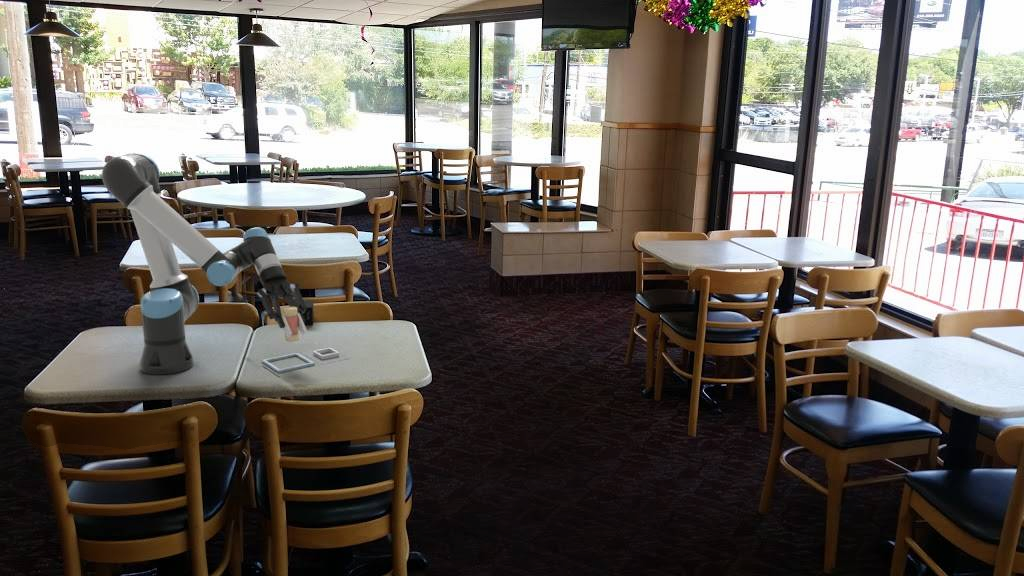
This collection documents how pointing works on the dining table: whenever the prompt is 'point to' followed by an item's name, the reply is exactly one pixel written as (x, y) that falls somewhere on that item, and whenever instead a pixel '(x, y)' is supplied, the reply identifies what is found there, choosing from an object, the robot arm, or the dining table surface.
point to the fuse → (292, 323)
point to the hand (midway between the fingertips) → (297, 334)
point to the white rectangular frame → (326, 355)
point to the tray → (309, 363)
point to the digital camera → (309, 312)
